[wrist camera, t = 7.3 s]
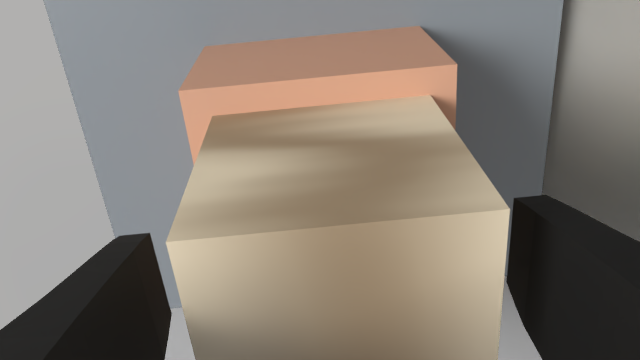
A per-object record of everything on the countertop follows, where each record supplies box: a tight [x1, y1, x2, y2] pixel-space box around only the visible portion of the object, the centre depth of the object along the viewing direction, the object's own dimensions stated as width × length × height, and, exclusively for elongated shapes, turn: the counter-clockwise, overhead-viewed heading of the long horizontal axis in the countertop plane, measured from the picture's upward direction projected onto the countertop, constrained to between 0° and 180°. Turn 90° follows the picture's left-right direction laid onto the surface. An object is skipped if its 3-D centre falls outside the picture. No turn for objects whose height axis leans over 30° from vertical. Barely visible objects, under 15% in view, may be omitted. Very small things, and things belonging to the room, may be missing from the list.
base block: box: [178, 26, 457, 164], centre depth 15 cm, size 6×6×4 cm
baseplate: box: [44, 0, 564, 308], centre depth 17 cm, size 14×12×1 cm
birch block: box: [166, 95, 510, 360], centre depth 11 cm, size 5×5×5 cm
